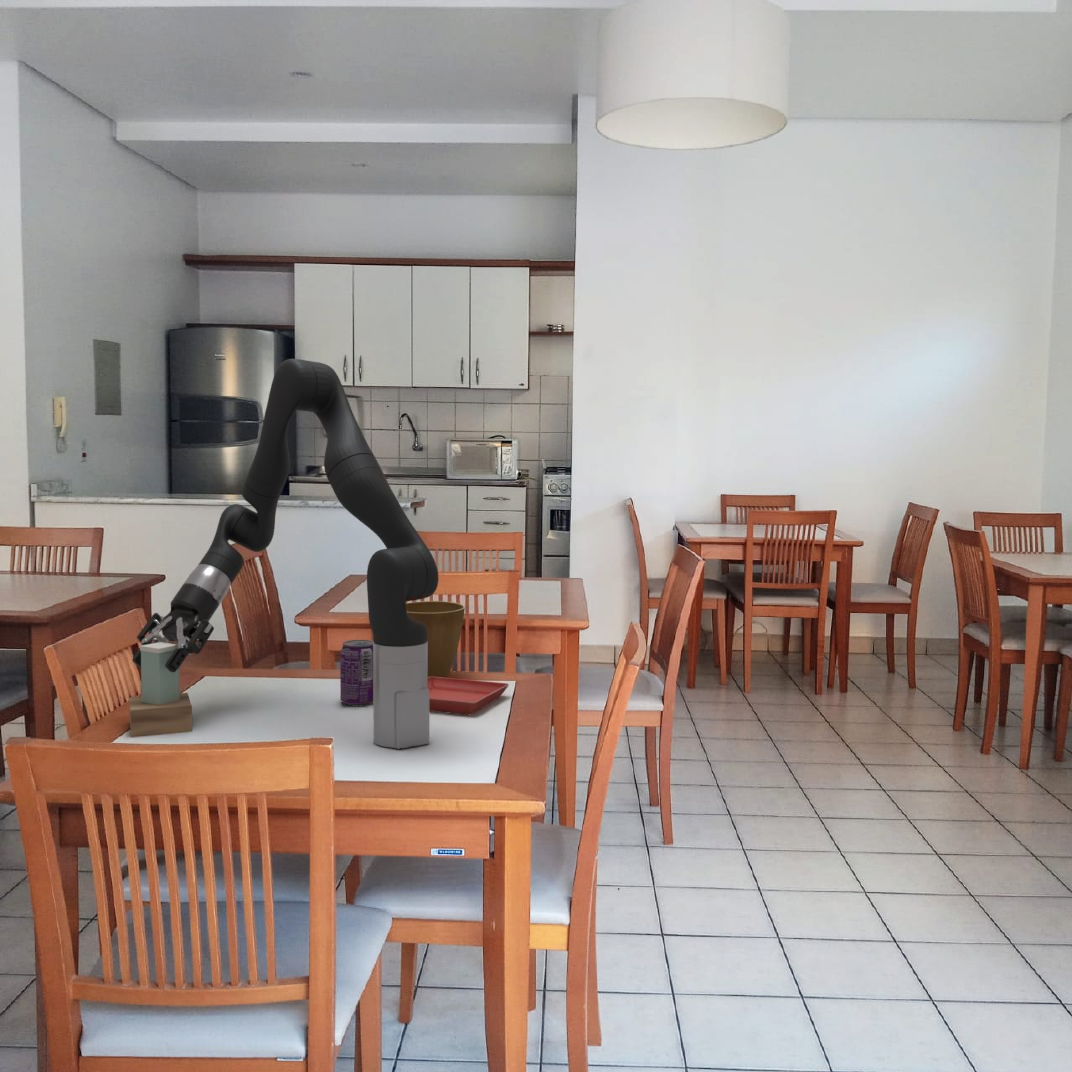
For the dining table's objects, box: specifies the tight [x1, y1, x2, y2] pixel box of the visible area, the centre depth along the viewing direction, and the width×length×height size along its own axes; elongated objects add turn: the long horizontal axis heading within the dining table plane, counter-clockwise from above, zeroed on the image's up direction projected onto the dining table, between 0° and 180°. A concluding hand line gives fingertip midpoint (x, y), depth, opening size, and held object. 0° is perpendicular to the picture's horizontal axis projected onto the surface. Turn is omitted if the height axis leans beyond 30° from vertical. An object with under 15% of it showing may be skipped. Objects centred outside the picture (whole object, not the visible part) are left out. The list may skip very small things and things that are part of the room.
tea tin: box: [139, 642, 181, 705], centre depth 183 cm, size 5×5×10 cm
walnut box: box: [128, 692, 193, 738], centre depth 184 cm, size 10×10×5 cm
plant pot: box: [406, 600, 466, 678], centre depth 223 cm, size 15×15×16 cm
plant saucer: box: [428, 677, 510, 716], centre depth 203 cm, size 18×18×3 cm
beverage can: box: [339, 639, 373, 707], centre depth 202 cm, size 7×7×12 cm
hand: (152, 666), depth 182 cm, fingers open, 8 cm apart
